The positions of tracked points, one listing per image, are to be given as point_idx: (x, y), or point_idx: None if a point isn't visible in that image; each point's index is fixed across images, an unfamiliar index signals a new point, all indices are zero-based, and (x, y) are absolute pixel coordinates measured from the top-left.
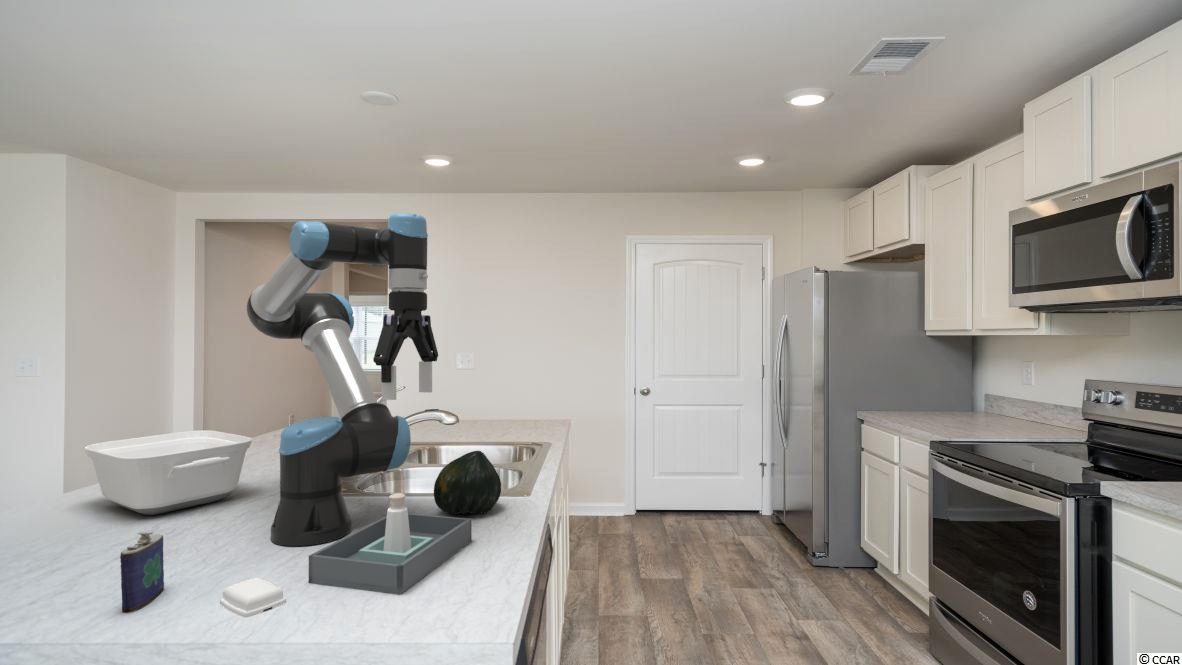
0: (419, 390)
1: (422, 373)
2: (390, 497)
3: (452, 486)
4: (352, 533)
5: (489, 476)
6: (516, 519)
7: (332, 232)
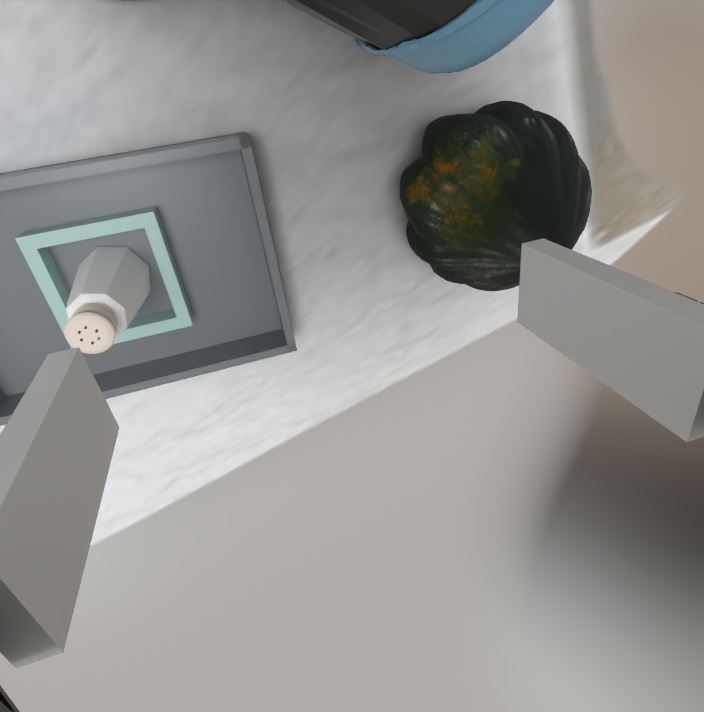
0: (527, 251)
1: (615, 320)
2: (64, 329)
3: (417, 222)
4: (38, 172)
5: (490, 289)
6: (439, 320)
7: None
